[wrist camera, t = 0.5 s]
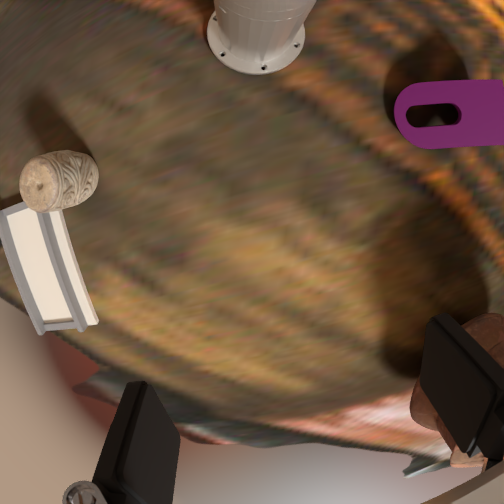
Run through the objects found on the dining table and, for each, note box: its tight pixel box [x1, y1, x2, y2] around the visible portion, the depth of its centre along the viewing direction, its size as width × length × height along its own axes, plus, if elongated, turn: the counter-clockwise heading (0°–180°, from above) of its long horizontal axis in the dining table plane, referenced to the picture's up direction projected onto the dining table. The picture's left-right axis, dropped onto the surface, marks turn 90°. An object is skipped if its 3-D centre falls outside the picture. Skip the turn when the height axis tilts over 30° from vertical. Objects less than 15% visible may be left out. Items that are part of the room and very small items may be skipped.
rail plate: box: [0, 202, 99, 335], centre depth 42 cm, size 22×14×3 cm, turn 9°
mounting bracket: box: [394, 80, 504, 149], centre depth 36 cm, size 10×8×18 cm
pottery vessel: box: [410, 313, 504, 467], centre depth 39 cm, size 26×26×30 cm
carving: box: [20, 150, 99, 213], centre depth 33 cm, size 6×8×12 cm
